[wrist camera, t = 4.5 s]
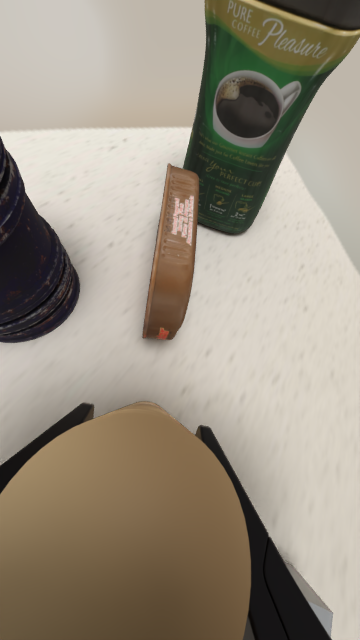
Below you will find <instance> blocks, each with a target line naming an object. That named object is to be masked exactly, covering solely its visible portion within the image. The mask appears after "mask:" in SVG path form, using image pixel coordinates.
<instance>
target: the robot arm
mask: <svg viewBox="0 0 360 640" xmlns="http://www.w3.org/2000/svg"><path fill="white" fill-rule="evenodd" d="M93 416H94V405H93V404H89V403H82V404H80V405H79V406H78V407H76V408H75V409H74V410H73V411H71V412H70V413H69V414H67V415H66V416H65V417H63V418H62V419H61V420H59V421H58V422H57V423H56V424H54V425H53V426H52V427H50V428H49V429H48V430H46V431H45V432H44V433H43V434H41V435H40V436H39V437H37V438H36V439H35V440H33V441H32V442H31V443H29V444H28V445H27V446H26V447H24V448H23V449H22V450H20V451H19V452H18V453H16V454H15V455H14V456H12V457H11V458H10V459H9V460H7V461H6V462H5V463H3V464H2V465H1V466H0V494H1V493H2V491H3V490H4V489H5V487H6V486H7V485H8V483H9V482H10V480H11V479H12V478H13V477H14V476H15V475H16V473H17V472H18V471H19V470H20V469H21V468H22V467H23V466H24V464H25V463H26V462H27V461H28V460H30V459H31V458H32V457H33V456H34V455H35V454H36V453H37V452H38V451H39V450H40V449H41V448H43V447H44V446H45V445H47V444H48V443H49V442H51V441H52V440H54V439H55V438H56V437H58V436H59V435H61V434H63V433H64V432H66V431H68V430H70V429H71V428H73V427H75V426H77V425H80V424H82V423H84V422H87V421H89V420H92V419H93ZM195 436H196V437H197V438H199V439H200V440H201V441H202V442H203V443H204V444H205V445H206V446H207V447H208V448H209V449H210V450H211V451H212V452H213V453H214V455H215V456H216V458H217V459H218V460H219V462H220V463H221V464H222V466H223V467H224V469H225V471H226V473H227V474H228V476H229V478H230V480H231V482H232V484H233V486H234V489H235V491H236V493H237V496H238V498H239V501H240V504H241V508H242V511H243V514H244V518H245V522H246V527H247V533H248V538H249V547H250V558H251V588H250V600H249V610H248V615H247V621H246V626H245V632H244V636H243V640H332V639H331V638H330V636H329V634H328V633H327V631H326V630H325V628H324V627H323V625H322V623H321V622H320V620H319V619H318V617H317V616H316V614H315V612H314V611H313V609H312V608H311V606H310V604H309V603H308V601H307V599H306V598H305V596H304V595H303V593H302V591H301V590H300V588H299V586H298V585H297V583H296V582H295V580H294V578H293V576H292V575H291V573H290V571H289V569H288V568H287V566H286V564H285V562H284V561H283V559H282V557H281V555H280V554H279V552H278V550H277V548H276V546H275V545H274V543H273V541H272V539H271V537H268V532H267V530H266V528H265V527H264V525H263V523H262V521H261V519H260V517H259V516H258V514H257V512H256V510H255V508H254V507H253V505H252V503H251V501H250V499H249V497H248V496H247V494H246V492H245V490H244V488H243V487H242V485H241V483H240V481H239V479H238V477H237V476H236V474H235V472H234V470H233V468H232V466H231V465H230V463H229V461H228V459H227V457H226V456H225V454H224V452H223V450H222V448H221V446H220V445H219V443H218V441H217V439H216V437H215V436H214V434H213V432H212V430H211V428H210V427H208V426H203V425H200V426H199V427H198V429H197V432H196V434H195Z"/></svg>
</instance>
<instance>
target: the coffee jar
mask: <svg viewBox="0 0 360 640" xmlns="http://www.w3.org/2000/svg"><path fill="white" fill-rule="evenodd" d="M205 19H206V51H205V60H204V68H203V75H202V81H201V88H200V93H199V99H198V104H197V109H196V114H195V119H194V123H193V128H192V132H191V137H190V141H189V145H188V149H187V153H186V158H185V161H184V166H183V169H185V170H189V171H192V172H194V173H196V174H197V175H198V177H199V202H198V219H197V222H200V223H201V224H204V225H206V226H209V227H212V228H215V229H218V230H221V231H225V232H229V233H240V232H243V231H245V230H247V229H248V228H249V227H250V226H251V225H252V223H253V221H254V220H255V218H256V216H257V214H258V212H259V210H260V208H261V206H262V204H263V202H264V199H265V197H266V195H267V193H268V191H269V188H270V186H271V184H272V181H273V179H274V177H275V174H276V172H277V170H278V168H279V165H280V163H281V161H282V159H283V157H284V155H285V152H286V150H287V148H288V146H289V144H290V142H291V140H292V138H293V136H294V133H295V132H296V130H297V128H298V126H299V124H300V122H301V120H302V118H303V116H304V114H305V112H306V110H307V109H308V107H309V105H310V103H311V101H312V99H313V98H314V96H315V94H316V92H317V90H318V89H319V88H320V86H321V85H322V83H323V82H324V81H325V79H326V78H327V77H328V76H329V75H330V74H331V72H332V71H333V70H334V69H335V68H336V67H337V66H338V65H339V64H340V63H341V62H342V61H343V59H344V58H345V57H346V56H347V55H348V53H349V52H350V51H351V49H352V48H353V47H354V45H355V44H356V42H357V41H358V39H359V37H360V0H205Z"/></svg>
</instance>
